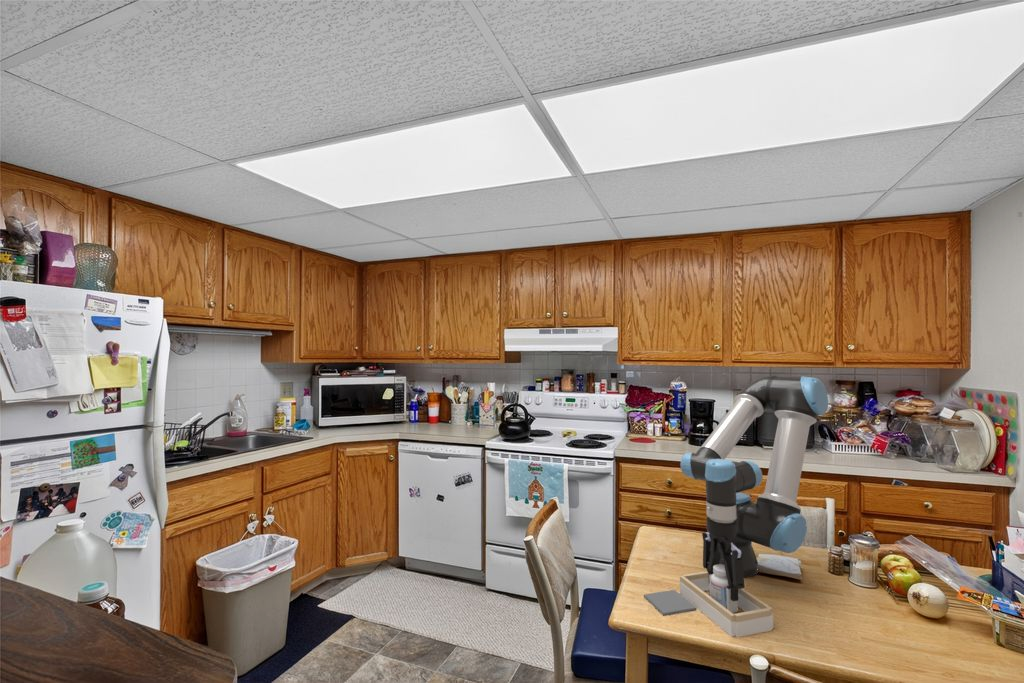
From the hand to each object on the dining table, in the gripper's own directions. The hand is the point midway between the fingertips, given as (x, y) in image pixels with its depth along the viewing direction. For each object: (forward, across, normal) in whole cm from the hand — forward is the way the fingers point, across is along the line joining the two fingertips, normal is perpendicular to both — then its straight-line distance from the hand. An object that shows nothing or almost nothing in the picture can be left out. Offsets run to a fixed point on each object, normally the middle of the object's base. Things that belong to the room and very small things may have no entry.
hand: (723, 604), depth 127 cm
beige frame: (+1, 0, 0) cm, 1 cm away
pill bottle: (+2, 0, 0) cm, 2 cm away
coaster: (+1, -7, -12) cm, 14 cm away
